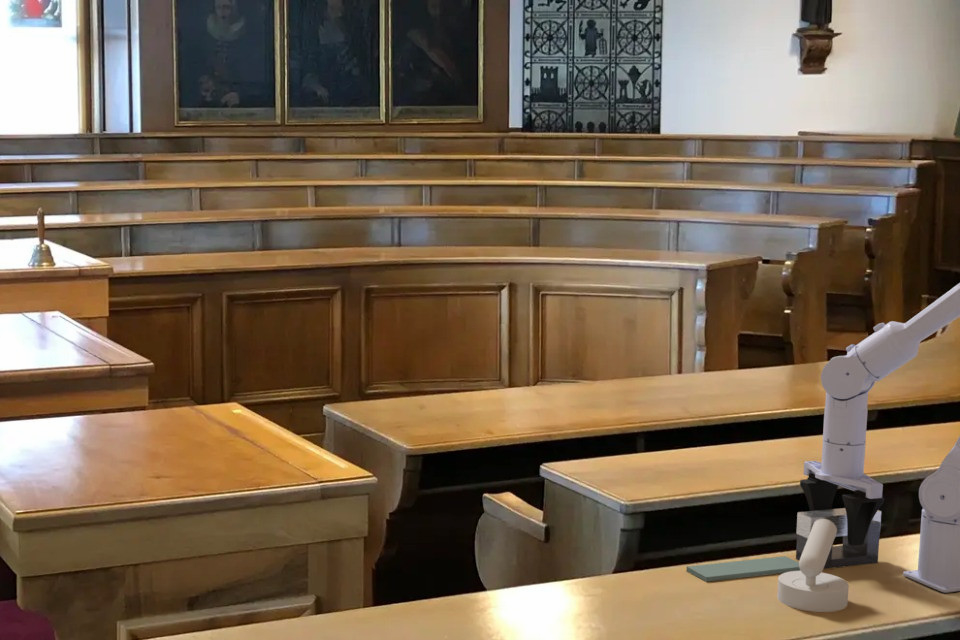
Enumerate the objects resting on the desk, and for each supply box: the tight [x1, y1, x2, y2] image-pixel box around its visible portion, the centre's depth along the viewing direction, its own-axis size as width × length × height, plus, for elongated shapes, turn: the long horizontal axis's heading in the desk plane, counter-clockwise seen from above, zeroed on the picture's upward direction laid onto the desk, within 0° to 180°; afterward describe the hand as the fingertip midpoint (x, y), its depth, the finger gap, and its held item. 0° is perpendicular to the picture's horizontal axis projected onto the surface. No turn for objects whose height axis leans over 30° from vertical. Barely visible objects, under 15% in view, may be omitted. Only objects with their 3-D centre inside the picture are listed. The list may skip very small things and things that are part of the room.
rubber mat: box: [685, 555, 801, 582], centre depth 173 cm, size 16×5×1 cm, turn 113°
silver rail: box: [796, 507, 882, 538], centre depth 178 cm, size 12×3×3 cm, turn 113°
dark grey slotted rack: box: [795, 521, 881, 570], centre depth 178 cm, size 10×5×6 cm, turn 113°
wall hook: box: [776, 519, 849, 613], centre depth 161 cm, size 9×10×10 cm
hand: (838, 536), depth 178 cm, fingers open, 7 cm apart
